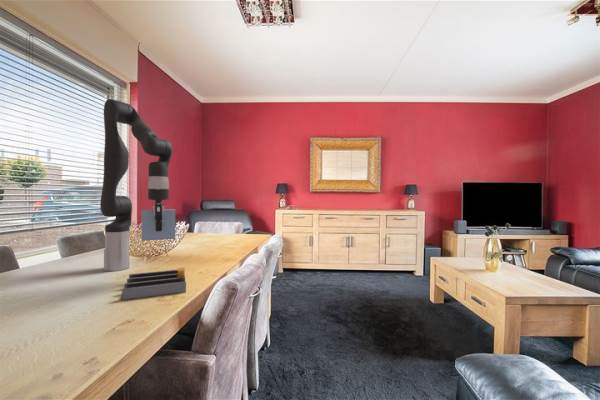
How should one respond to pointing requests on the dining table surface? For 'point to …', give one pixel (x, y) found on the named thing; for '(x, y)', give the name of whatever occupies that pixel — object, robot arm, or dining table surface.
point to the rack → (154, 284)
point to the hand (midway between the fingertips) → (158, 230)
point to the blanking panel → (150, 225)
